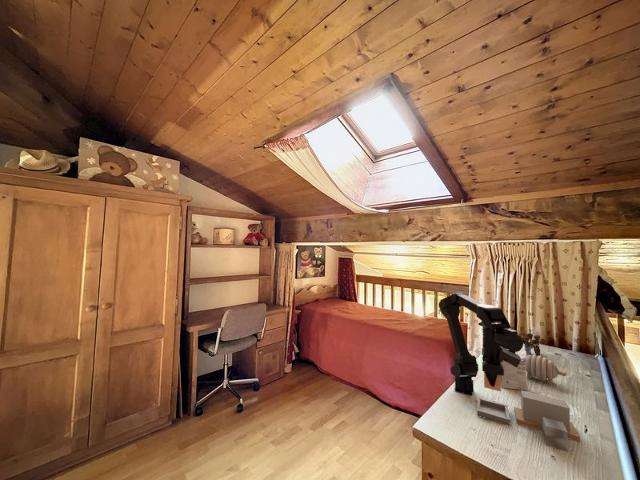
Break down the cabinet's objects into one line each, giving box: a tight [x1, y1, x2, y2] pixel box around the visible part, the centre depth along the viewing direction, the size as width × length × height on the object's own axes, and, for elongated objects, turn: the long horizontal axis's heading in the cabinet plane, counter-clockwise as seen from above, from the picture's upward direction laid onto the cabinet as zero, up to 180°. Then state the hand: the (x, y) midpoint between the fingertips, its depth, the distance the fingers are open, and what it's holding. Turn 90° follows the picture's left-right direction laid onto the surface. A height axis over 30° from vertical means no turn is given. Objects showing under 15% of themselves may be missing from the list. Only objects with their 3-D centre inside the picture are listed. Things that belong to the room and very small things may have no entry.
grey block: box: [542, 417, 569, 453], centre depth 81 cm, size 5×5×6 cm
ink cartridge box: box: [501, 358, 528, 391], centre depth 114 cm, size 10×6×14 cm, turn 78°
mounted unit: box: [513, 390, 581, 443], centre depth 89 cm, size 16×8×9 cm, turn 58°
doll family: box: [521, 332, 542, 357], centre depth 144 cm, size 23×9×13 cm, turn 144°
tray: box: [476, 396, 511, 427], centre depth 95 cm, size 10×10×2 cm
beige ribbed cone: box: [522, 354, 567, 386], centre depth 119 cm, size 11×17×11 cm, turn 47°
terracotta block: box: [483, 371, 502, 392], centre depth 95 cm, size 5×5×6 cm
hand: (492, 383), depth 95 cm, fingers closed on terracotta block, 5 cm apart
